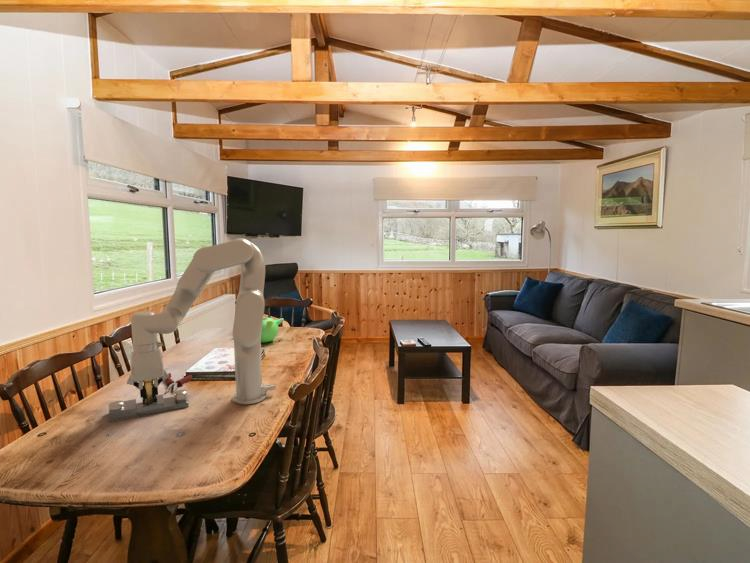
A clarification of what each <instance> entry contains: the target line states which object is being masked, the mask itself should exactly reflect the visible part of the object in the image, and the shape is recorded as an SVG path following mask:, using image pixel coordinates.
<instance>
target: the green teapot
mask: <svg viewBox="0 0 750 563" xmlns="http://www.w3.org/2000/svg"><path fill="white" fill-rule="evenodd" d="M283 321H285V319H284V318H283V317H282V318H279V319H273V318H272V317H269V316H263V323H262V330H261V336H260V337H261V344H262V343H264V344H265V343H269V342H271V341H273V340H275V338H276V337H277V335H278V333H279V331H280V330H279V329H280V328H279V325H280V324H281V323H283Z"/></svg>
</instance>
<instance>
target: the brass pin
mask: <svg viewBox="0 0 750 563" xmlns="http://www.w3.org/2000/svg"><path fill="white" fill-rule="evenodd" d="M143 386H144V389H145V404H149V403H154V402H155V399H154V393H153V387H154V379H148V380H144V381H143Z"/></svg>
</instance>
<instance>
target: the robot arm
mask: <svg viewBox="0 0 750 563" xmlns="http://www.w3.org/2000/svg"><path fill="white" fill-rule="evenodd" d="M192 257H193V258H192V259H191V260H190V262H189V264H188V265H187V267H186V269H185V270H184V272H183V273H182V275H181V276H180V278H179V279H178V281H177V283H176V288H175V291H174V292H173V294H172V296H171V297H170V299H169V300H168V302H167V304H166V305H165V307H164V308H163V310H162V311H160V312H159V313H155V312H153V311H138V312H134V313H132V315H131V317H130V323H131V324H130V325H131V335H132V336H131V337H132V338H131V339H132V350H133V351H131V353H130V362H129V363H130V374H129V377H128V378H127V381H126V384H127V385H131V386H134V387H135V388H136V389H139V395H140V398H141V399H142V398H143V401H144V400H145V389H144V383H143V381H144V380H148V379H154V380H153V385H154V387H153V393H154V398H156V395H159V390H158V389H159V388H158V387H159V386H160V384H162V382H163V381H165V379H167V378H168V377H169V376H168V374H169V373H168V372H167V371H166V370H165V366H164V360H163V359H164V358H163V353H162V349H161V348H160V347H163V342H162V341H161V342H160V341H159V340H158V334H160V335H168V334H171V333H173V332H175V331H176V330H177V329H178V328H179V326H180V324H181V323H182V321H183V320H184V319H185V317H186V315H187V313H188V312H189V311H190V309H191V307H192V306H193V304H194V303H195V301H196V300H197V299H198V298H199V297H200V296H201V294H202V293H203V291H204V289H205V288H206V286H207V285H208V283H209V282H210V280H211V279H212V277H213V276H214V273H215V272H216V271H221V270H225V269H227V268H231V267H232V268H233V267H235V266H239V265H240V267H241V270H240V271H241V272H240V282H239V289H238V293H237V297H236V302H235V310H234V320H233V326H232V327H233V328H232V339H233V347H234V348H233V349H234V350H233V351H234V354H233V355H234V371H235V372H234V373H235V375H234V376H235V392H234V393H233V395H231V401H232V402H233V403H234V404H238V405H253V404H257V403H260V402H263V401H264V400H266V398H267V396H268V392H269V391H275V390H276V384H270V383H267V384H263V370H262V369H263V367H262V366H263V364H262V343H261V337H260V336H261V330H262V323H263V317H264V314H265V307H266V306H265V305H266V304H265V297H264V288H265V279H266V262H265V258H264V255H263V254H262V251H261V250H260V249H259V247H257V245H255V244H254V243H253V242H252V241H250V240H248V239H246V238H242V237H240V238H239V237H238V238H235V239H233V240H230V241H226V242H221V243H218V244H215V245H210V246H207V245H206V246H202V247H200V248H199V249H197V250H196V251H195V252H194V254H193V256H192Z"/></svg>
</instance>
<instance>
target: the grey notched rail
mask: <svg viewBox="0 0 750 563" xmlns="http://www.w3.org/2000/svg"><path fill="white" fill-rule="evenodd" d="M141 399H142V400H141V401H142V402H137V399H136V398H134V399H130V400H129V399H128V400H124V401H123V400H115V401H111V402H110V403H108V420H109V423H113V422H112V421H114V422H117V420H119V421H123V420H122V419H124V420H128V419H127V418H129V419H133V418H132V417H134V418H137V417H138V416H139V417H143V416H144V415H145V416H150V415H154V414H153V413H155V414H160V413H164V412H169V411H170V410H171V411H175V410H180V408H181V409H185V407H186V408H189V406H190V405H189V397H188V390H187V389H178V390H175V391H174V392H173V396H170V397H165V398H164V394H158V395H156V398H154V399H155V402H154V403H149V404H145V400H144V401H143V397H142V398H141ZM159 412H160V413H159ZM149 414H150V415H149ZM139 417H138V418H139Z"/></svg>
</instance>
